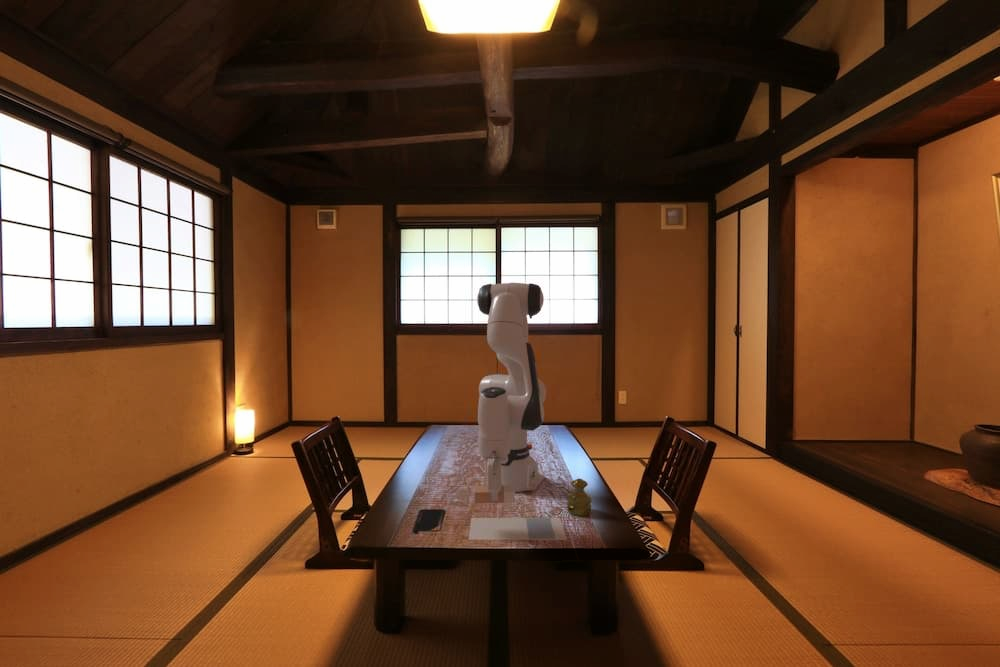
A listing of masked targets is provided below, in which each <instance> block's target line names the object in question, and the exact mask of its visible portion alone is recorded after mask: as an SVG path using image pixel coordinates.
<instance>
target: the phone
mask: <svg viewBox="0 0 1000 667" xmlns="http://www.w3.org/2000/svg"><path fill="white" fill-rule="evenodd" d="M445 514H446V509H444V508H443V509H442V508H441V509H439V508H438V509H436V508H435V509H433V508H432V509H431V508H430V509H429V508H428V509H427V508H424V509H420V510H419V512H418V513H417V516H416V519H415V522H414V524H413V526H412V528H411V529H412V533H413V534H419V532H439V531H441V530H442V525H443V521H444V518H445ZM439 526H440V527H439ZM438 527H439V529H436V530H435V528H438Z"/></svg>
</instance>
